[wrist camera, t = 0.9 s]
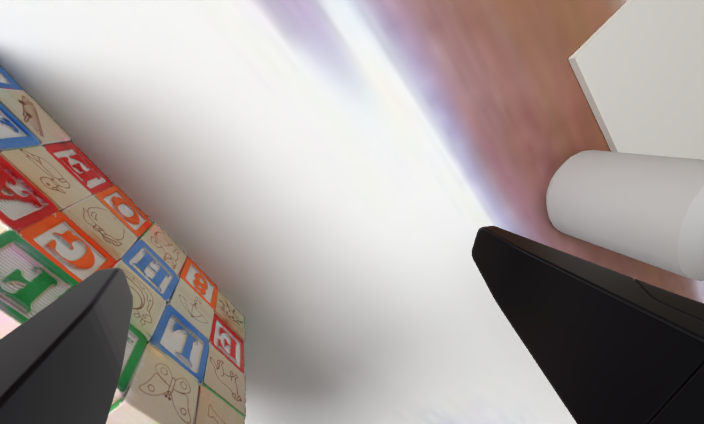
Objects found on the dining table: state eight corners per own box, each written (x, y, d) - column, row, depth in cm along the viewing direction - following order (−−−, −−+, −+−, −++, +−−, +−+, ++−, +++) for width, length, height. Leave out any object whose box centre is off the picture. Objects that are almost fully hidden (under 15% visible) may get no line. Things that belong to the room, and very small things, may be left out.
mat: (645, 225, 34) (652, 227, 34) (567, 59, 27) (574, 57, 26) (740, 130, 35) (748, 130, 34) (690, -61, 27) (699, -65, 26)
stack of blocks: (-146, 104, 16) (-1108, 66, 5) (-28, 33, 17) (-629, -156, 5) (175, 371, 24) (109, 598, 13) (248, 317, 25) (248, 488, 13)
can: (527, 179, 28) (706, 218, 17) (594, 132, 29) (807, 140, 18) (551, 246, 31) (719, 316, 20) (612, 202, 32) (806, 245, 21)
